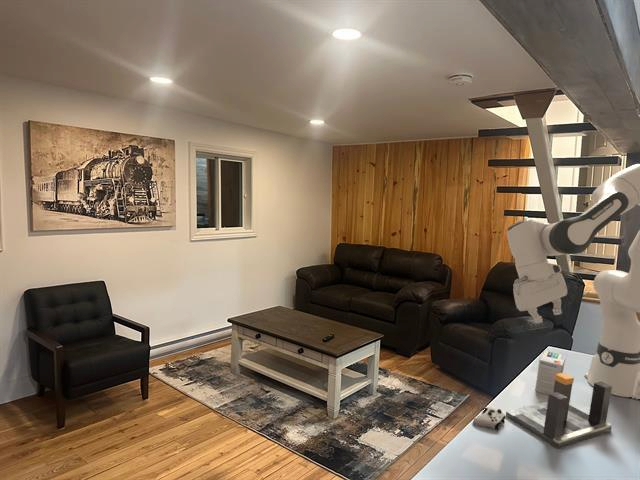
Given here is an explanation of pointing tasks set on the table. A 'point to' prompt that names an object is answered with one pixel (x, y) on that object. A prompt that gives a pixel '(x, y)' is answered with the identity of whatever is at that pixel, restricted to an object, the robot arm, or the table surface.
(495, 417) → the game controller
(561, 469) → the table surface
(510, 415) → the grey peg stand
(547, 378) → the light bulb box
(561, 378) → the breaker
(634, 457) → the table surface
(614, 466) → the table surface
